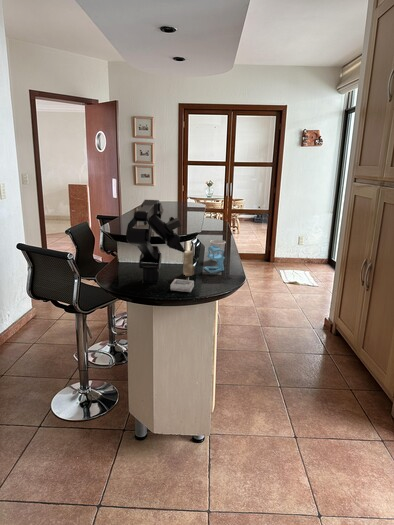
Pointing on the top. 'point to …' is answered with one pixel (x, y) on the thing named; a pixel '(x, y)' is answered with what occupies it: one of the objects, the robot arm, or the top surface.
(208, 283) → the top surface
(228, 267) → the top surface
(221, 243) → the dixie cup
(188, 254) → the keyed post
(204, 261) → the top surface
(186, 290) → the socket plate
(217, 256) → the chair
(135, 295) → the top surface
